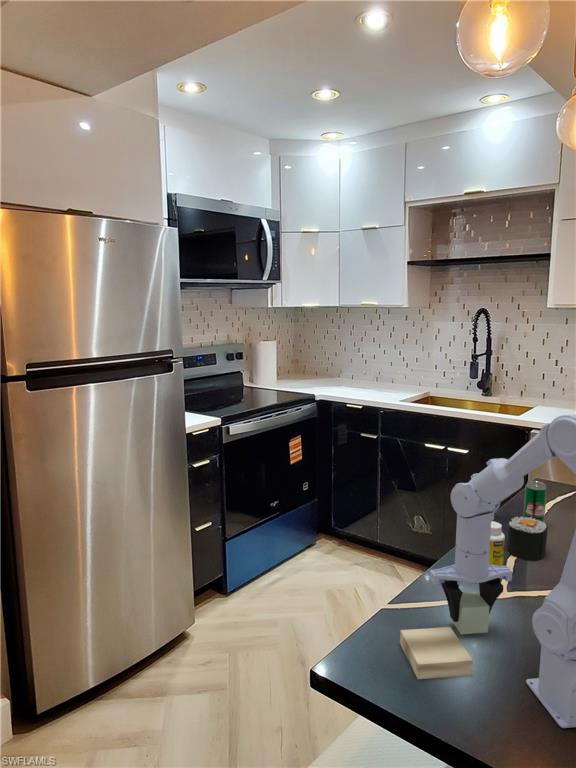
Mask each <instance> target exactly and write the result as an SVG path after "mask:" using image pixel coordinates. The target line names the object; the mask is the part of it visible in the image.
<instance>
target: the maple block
mask: <svg viewBox="0 0 576 768" xmlns="http://www.w3.org/2000/svg"><path fill="white" fill-rule="evenodd" d="M399 634H400V636H399V645H400V646H401V648H402V650H403V652H404V654H405V657H406V659H407V661H408V663H409V664H410V667H411V669H412V671H413V673H414V675H415V677H416V679H417V680H426V679H427V680H428V679H439V678H452V677H465V676H473V667H474V666H473V665H474V664H473V662H474V660H473V659H472V657H471V656H470V654H469V653H468V651H467V650H466V648H465V647H464V645H463V643H462V642H461V641H460V640H459V638H458V636H457V635H456V633H455V632H454V630H453V629H452V627H451V626H444V627H443V626H442V627H430V628H414V629H412V628H411V629H400V633H399Z"/></svg>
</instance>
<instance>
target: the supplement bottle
mask: <svg viewBox="0 0 576 768" xmlns="http://www.w3.org/2000/svg"><path fill="white" fill-rule="evenodd" d="M502 527H503V526H502V524H501V523H500V522H497V521H494V520H492V522H491V533H490V551H489V565H496V566H504V558H505V557H504V553H505V541H506V539H505V538H506V536H505V533H503V528H502Z"/></svg>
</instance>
